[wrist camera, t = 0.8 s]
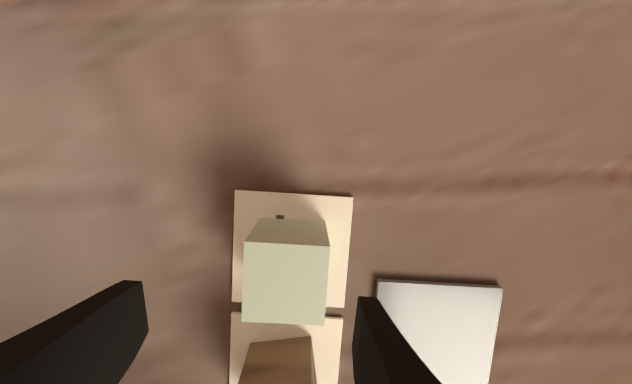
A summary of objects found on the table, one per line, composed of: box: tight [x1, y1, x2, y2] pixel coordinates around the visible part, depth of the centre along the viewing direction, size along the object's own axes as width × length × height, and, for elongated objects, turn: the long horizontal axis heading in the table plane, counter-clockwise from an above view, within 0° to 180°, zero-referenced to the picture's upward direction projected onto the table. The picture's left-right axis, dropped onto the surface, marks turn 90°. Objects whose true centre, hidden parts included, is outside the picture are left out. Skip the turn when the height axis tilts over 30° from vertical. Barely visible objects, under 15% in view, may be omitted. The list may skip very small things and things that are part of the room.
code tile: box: [232, 190, 353, 308], centre depth 25 cm, size 9×9×1 cm
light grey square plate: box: [375, 279, 503, 384], centre depth 26 cm, size 10×10×1 cm
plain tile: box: [229, 312, 343, 384], centre depth 26 cm, size 9×9×1 cm
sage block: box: [241, 218, 330, 326], centre depth 22 cm, size 5×5×6 cm
